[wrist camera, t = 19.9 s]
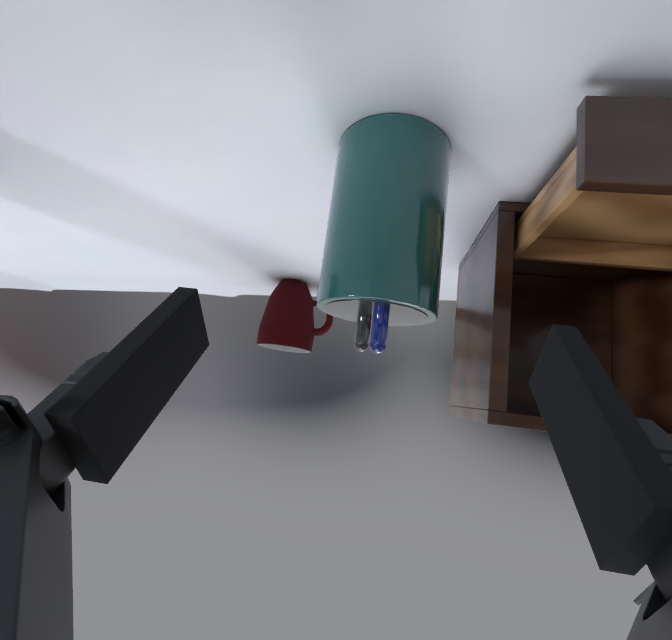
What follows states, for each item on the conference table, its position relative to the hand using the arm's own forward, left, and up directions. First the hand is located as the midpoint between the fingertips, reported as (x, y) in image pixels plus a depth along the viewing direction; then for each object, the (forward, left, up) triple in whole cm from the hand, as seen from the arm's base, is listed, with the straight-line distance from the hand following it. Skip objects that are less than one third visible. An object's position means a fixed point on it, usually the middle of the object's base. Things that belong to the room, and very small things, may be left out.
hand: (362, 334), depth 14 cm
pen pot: (+7, -2, -13) cm, 15 cm away
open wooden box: (+24, +9, -13) cm, 28 cm away
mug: (+33, -25, -13) cm, 43 cm away
